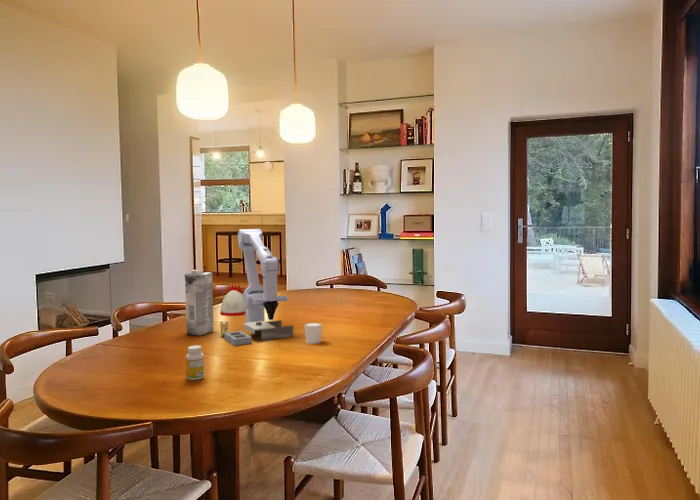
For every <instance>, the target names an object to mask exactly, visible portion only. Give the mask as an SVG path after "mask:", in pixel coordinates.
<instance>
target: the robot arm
mask: <svg viewBox="0 0 700 500" xmlns="http://www.w3.org/2000/svg"><path fill="white" fill-rule="evenodd" d="M263 238H264V237H263V232H262V230H261V229H260V228H252V229H251V228H250V229H249V228H247V229H244V228H243V229H242V228H239V230H238V232H237V241H238V246H239V250H241V251H242V252H243V253H242V254H243V259H244V265H245V271H246V277H247V285H248V286H247V287H246V288H245V289H244V290H243V293H242V295H243V296H244V298H243V301H244V305H245V306H246V307H247V310H246V314H245V323H248V322H256V321H264V322H266V321H265V320H266V319H265V311H266V314H267V318H268V320H269V321H274V317H275V315H276V314H275V313H276V311H277V308H278V306H279V302H288V299H289V298H288V296H287V295H278V271H279V270H280V261H279V259H278V257H275V256H273V254H272V252H271V251H270V248H269V247H267V246H265V245H264V241H263ZM255 252H256V253H255ZM256 257H257V259H258V260H259V262H260V270H261V276H262V280H263V281H262V283H263V284H262V285H263V286H262V285H261V284H260V278H259V272H258V266H257V261H256V260H257V259H256ZM243 326H244V327H245V325H243Z"/></svg>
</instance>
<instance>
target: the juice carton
mask: <svg viewBox="0 0 700 500" xmlns="http://www.w3.org/2000/svg"><path fill="white" fill-rule="evenodd" d="M190 270H191V269H190ZM190 272H191V273H184V283H185V286H184V287H185V288H184V289H185V313H186V314H185V317H186V334H187V335H192V336H203V335H206V334H207V335H208V334H209V333H212V332H214V304H213V303H214V302H213V301H214V299H213V298H214V297H213V272H211V271H210V272H209V271H199V269H192V270H191V271H190Z"/></svg>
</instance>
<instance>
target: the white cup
mask: <svg viewBox="0 0 700 500" xmlns="http://www.w3.org/2000/svg"><path fill="white" fill-rule="evenodd" d="M322 328H323V325H322V323H321V322H320V323H318V322H308V323H305V324H304V334H305V341H306V342H305V343H306V344H310V345H311V344H312V345H315V344H320V343H321V342H322V341H321V340H322Z"/></svg>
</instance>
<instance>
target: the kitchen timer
mask: <svg viewBox="0 0 700 500" xmlns="http://www.w3.org/2000/svg"><path fill="white" fill-rule="evenodd" d="M228 289H229V290H228ZM242 289H243V286H241V287H240V284H238V285H237V284H236V283H234V284H233V283H231V286H230V285H229V286H228V288H226V289H225V290H226V292H227V293H226V295H225V296H224V298H223V299H222V302H221V306H220V310H219V311H220V315H221V316H224V317H239V316H246V310H247V307H246V306H245V305H244V301H243V298H244V295H243V293H242Z"/></svg>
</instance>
